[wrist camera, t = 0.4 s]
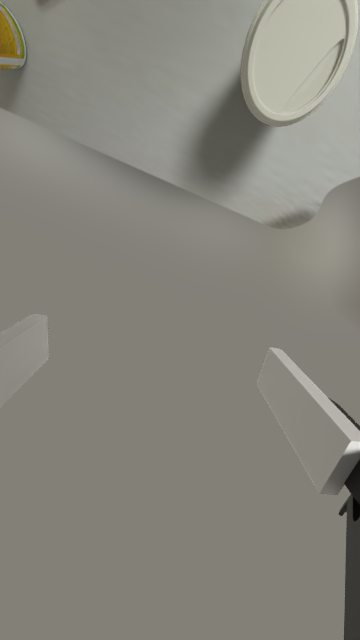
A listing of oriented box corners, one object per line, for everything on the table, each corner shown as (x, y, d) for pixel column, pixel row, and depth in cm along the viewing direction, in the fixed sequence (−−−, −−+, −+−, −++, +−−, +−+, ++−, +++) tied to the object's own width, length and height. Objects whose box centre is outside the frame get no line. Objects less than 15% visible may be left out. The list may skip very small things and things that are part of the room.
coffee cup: (246, 126, 29) (248, 145, 22) (235, 28, 24) (231, 3, 16) (321, 95, 26) (355, 104, 18) (328, -27, 21) (381, -91, 13)
